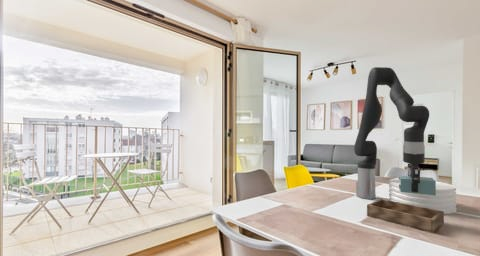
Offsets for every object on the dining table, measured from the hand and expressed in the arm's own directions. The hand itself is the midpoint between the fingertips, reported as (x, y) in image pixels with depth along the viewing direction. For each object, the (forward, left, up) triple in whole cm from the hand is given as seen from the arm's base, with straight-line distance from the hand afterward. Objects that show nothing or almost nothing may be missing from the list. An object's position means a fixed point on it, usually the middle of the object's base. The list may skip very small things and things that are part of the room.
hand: (413, 189), depth 103 cm
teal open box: (+7, +3, +2) cm, 7 cm away
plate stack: (-5, +29, -13) cm, 32 cm away
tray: (-3, -4, -13) cm, 14 cm away
